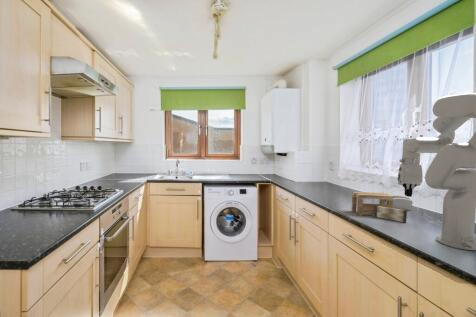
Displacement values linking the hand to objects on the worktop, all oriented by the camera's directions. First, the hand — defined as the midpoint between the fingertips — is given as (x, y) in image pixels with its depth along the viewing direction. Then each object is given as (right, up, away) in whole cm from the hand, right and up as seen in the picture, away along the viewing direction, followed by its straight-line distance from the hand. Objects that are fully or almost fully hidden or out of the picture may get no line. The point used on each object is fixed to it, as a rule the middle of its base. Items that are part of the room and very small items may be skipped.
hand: (408, 196), depth 122 cm
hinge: (+11, -13, +25) cm, 30 cm away
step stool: (-13, -13, +12) cm, 22 cm away
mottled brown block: (-8, -13, +2) cm, 16 cm away
